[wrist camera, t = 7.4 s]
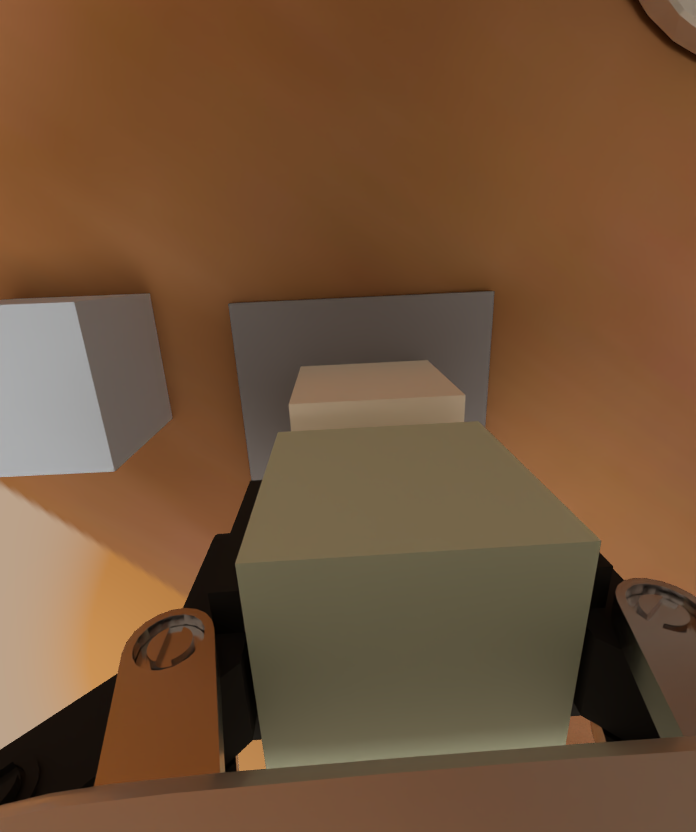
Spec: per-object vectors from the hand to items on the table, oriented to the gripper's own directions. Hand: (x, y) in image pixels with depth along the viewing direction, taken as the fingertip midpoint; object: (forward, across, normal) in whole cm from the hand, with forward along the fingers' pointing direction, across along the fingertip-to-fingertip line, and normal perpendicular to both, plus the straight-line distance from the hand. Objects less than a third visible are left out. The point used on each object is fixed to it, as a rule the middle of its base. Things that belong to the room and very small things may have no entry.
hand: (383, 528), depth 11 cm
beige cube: (+7, 0, 0) cm, 7 cm away
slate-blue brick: (+8, +10, -3) cm, 13 cm away
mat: (+8, 0, 0) cm, 8 cm away
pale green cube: (+1, 0, 0) cm, 1 cm away
